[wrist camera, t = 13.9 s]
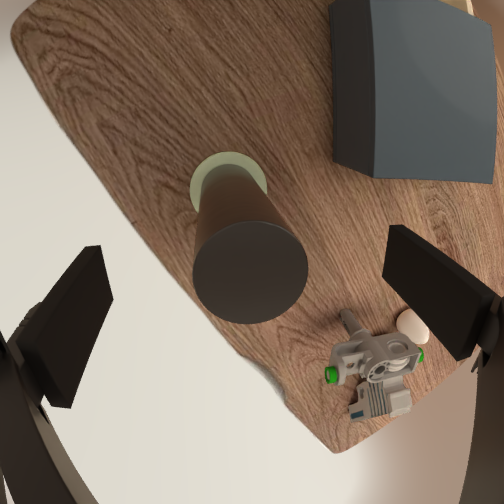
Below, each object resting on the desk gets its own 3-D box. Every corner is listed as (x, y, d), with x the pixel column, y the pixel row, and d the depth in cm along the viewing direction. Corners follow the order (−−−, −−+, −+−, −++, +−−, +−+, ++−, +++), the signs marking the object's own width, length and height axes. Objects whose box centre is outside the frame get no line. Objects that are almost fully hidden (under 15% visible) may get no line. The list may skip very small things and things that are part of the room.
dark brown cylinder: (199, 165, 26) (185, 225, 12) (255, 162, 27) (311, 216, 12) (203, 218, 28) (199, 329, 14) (256, 215, 29) (305, 318, 14)
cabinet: (328, 5, 22) (366, -24, 15) (440, 34, 23) (491, 24, 16) (332, 161, 28) (373, 178, 21) (441, 166, 30) (492, 184, 22)
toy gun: (400, 333, 35) (417, 409, 30) (357, 364, 47) (368, 422, 42) (380, 336, 35) (396, 415, 30) (340, 367, 47) (350, 426, 41)
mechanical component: (303, 308, 34) (333, 371, 25) (384, 298, 35) (428, 349, 26) (301, 330, 35) (328, 393, 26) (380, 318, 37) (419, 371, 27)
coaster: (187, 153, 26) (186, 154, 26) (265, 149, 27) (266, 150, 26) (193, 227, 29) (192, 229, 29) (266, 222, 30) (267, 224, 29)
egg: (396, 333, 38) (416, 359, 33) (389, 315, 37) (410, 341, 32) (418, 317, 38) (440, 341, 33) (413, 299, 36) (436, 323, 31)
